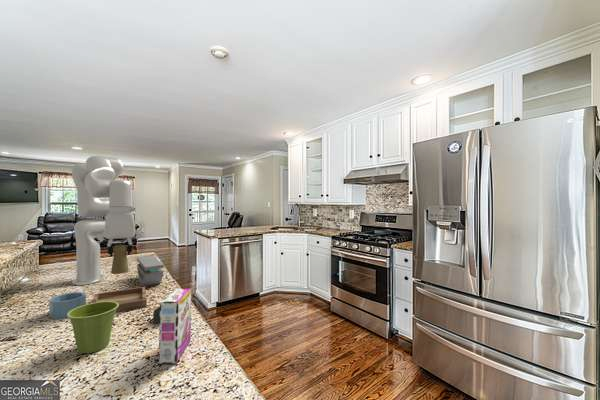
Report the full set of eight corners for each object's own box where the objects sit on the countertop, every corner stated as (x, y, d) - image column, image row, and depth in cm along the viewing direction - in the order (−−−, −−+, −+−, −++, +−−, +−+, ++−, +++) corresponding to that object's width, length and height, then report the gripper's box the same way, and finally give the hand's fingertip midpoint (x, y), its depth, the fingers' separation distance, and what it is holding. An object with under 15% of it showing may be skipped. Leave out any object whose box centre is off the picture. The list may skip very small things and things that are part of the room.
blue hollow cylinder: (53, 310, 100) (54, 295, 100) (87, 305, 105) (87, 290, 105) (46, 321, 92) (46, 304, 92) (83, 314, 97) (83, 298, 97)
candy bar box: (177, 364, 69) (178, 302, 69) (158, 365, 69) (158, 302, 68) (191, 341, 80) (192, 287, 80) (174, 341, 80) (175, 287, 80)
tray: (95, 300, 110) (95, 293, 110) (145, 293, 119) (145, 286, 119) (88, 317, 95) (88, 309, 95) (146, 307, 104) (146, 299, 104)
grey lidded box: (163, 287, 128) (163, 264, 128) (145, 290, 123) (145, 267, 123) (153, 275, 147) (153, 255, 147) (136, 277, 142) (136, 257, 142)
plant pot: (128, 340, 80) (128, 303, 80) (85, 363, 69) (85, 320, 69) (101, 333, 84) (101, 298, 84) (56, 354, 73) (56, 313, 73)
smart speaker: (154, 316, 97) (154, 305, 97) (181, 312, 101) (181, 301, 101) (151, 327, 89) (151, 315, 89) (180, 322, 92) (180, 311, 92)
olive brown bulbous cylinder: (119, 274, 103) (119, 246, 103) (107, 273, 105) (107, 245, 104) (132, 270, 109) (132, 243, 109) (120, 269, 111) (120, 243, 110)
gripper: (144, 209, 114) (144, 251, 115) (95, 210, 105) (94, 255, 106) (145, 210, 108) (144, 254, 108) (92, 211, 99) (92, 259, 99)
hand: (120, 254), depth 107 cm, fingers closed on olive brown bulbous cylinder, 5 cm apart
